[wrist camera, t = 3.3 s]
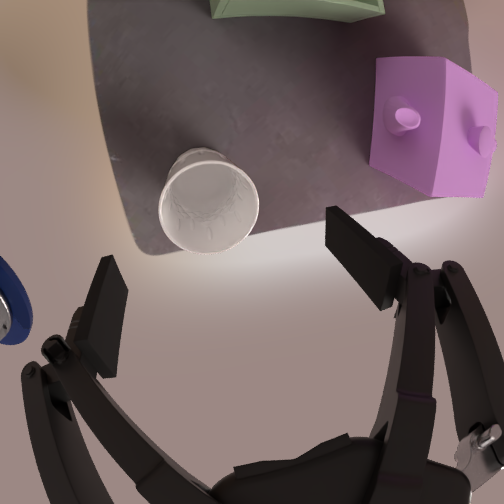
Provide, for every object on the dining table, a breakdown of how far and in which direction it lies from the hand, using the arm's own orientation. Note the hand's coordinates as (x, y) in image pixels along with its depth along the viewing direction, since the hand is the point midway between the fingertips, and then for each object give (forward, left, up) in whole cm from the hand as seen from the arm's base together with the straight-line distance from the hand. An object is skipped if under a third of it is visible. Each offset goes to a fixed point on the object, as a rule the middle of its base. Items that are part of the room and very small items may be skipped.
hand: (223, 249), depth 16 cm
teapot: (+28, +5, -16) cm, 32 cm away
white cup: (0, 0, -16) cm, 16 cm away
